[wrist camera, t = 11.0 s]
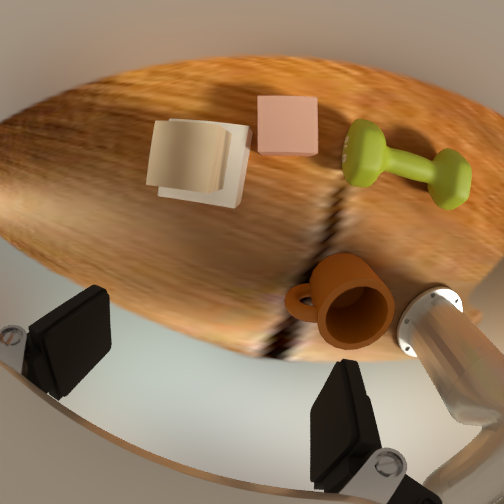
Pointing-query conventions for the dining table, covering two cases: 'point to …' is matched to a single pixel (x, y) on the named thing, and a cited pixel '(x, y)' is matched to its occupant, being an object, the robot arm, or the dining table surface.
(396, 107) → the dining table surface
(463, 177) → the dumbbell
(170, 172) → the maple cube
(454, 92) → the dining table surface
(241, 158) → the base block
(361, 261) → the mug
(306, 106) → the pink cube
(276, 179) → the dining table surface
